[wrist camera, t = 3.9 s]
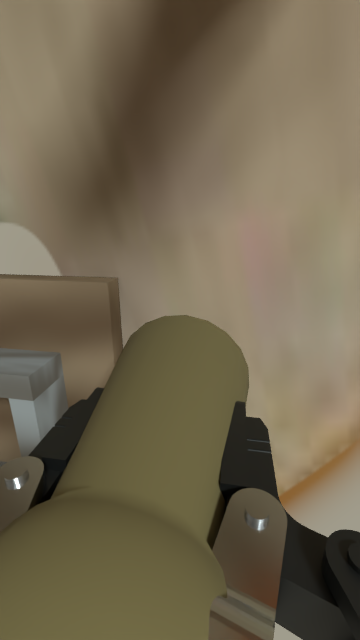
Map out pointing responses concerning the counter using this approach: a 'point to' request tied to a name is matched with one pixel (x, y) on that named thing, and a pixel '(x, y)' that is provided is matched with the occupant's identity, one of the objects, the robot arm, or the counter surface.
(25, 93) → the counter surface
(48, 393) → the holder board
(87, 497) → the olive knobbed cylinder
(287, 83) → the counter surface
